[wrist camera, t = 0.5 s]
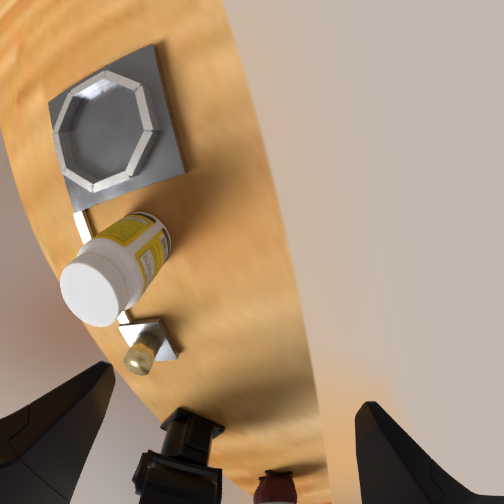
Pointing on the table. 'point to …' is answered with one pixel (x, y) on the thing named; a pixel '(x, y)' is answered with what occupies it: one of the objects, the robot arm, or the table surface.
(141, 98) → the grey handled tray
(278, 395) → the table surface
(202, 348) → the table surface
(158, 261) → the supplement bottle
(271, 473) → the mate gourd
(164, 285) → the table surface
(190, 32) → the table surface
